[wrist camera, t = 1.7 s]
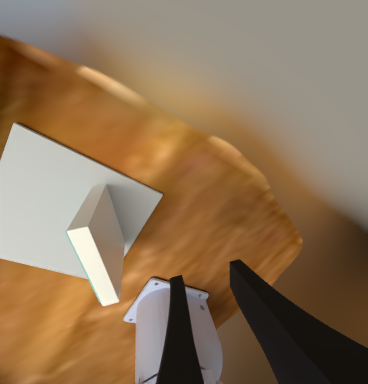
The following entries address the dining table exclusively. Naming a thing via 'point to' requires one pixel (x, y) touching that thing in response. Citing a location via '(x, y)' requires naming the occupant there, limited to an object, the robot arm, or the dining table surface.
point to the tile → (99, 244)
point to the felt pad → (58, 200)
